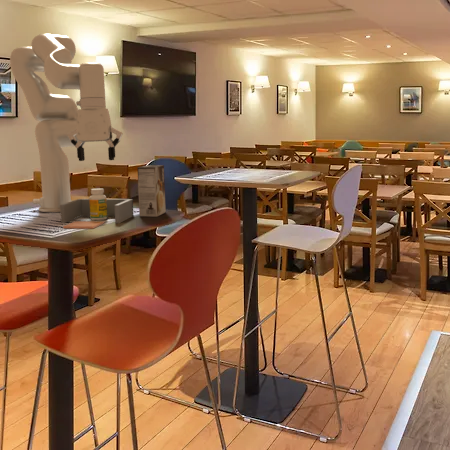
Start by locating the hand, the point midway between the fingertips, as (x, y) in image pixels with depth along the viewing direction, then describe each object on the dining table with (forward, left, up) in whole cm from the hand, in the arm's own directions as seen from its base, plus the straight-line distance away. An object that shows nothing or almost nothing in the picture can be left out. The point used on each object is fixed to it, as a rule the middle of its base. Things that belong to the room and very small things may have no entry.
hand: (96, 160), depth 183 cm
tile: (0, -13, -19) cm, 23 cm away
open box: (0, -1, -19) cm, 19 cm away
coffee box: (+15, +10, -19) cm, 26 cm away
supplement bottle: (0, 0, -19) cm, 19 cm away
